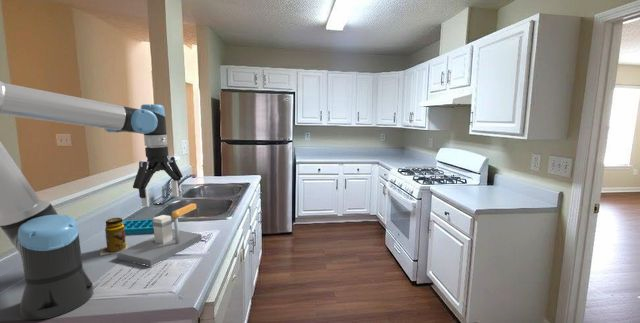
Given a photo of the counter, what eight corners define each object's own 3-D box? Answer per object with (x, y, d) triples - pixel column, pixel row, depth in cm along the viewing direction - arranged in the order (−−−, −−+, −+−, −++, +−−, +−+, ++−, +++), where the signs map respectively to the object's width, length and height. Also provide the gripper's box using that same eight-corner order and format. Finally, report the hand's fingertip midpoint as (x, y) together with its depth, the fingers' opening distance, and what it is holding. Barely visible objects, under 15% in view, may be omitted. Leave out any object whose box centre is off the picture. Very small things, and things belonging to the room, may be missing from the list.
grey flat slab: (151, 267, 101) (150, 260, 100) (118, 259, 106) (117, 252, 106) (201, 240, 123) (201, 234, 123) (172, 234, 129) (171, 229, 128)
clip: (172, 243, 113) (170, 212, 112) (193, 231, 125) (191, 203, 123) (177, 243, 113) (175, 213, 111) (198, 231, 125) (196, 203, 123)
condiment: (127, 250, 113) (124, 220, 112) (100, 256, 109) (96, 225, 107) (127, 243, 119) (124, 215, 118) (101, 248, 115) (97, 219, 113)
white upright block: (163, 249, 114) (161, 219, 112) (154, 247, 116) (152, 218, 114) (173, 244, 118) (171, 216, 117) (164, 242, 120) (162, 214, 118)
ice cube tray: (124, 226, 138) (124, 220, 138) (171, 224, 142) (170, 218, 142) (112, 236, 127) (111, 230, 126) (163, 233, 131) (162, 226, 130)
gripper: (132, 150, 98) (139, 211, 102) (189, 143, 121) (193, 193, 125) (116, 149, 101) (123, 209, 104) (175, 142, 124) (179, 192, 127)
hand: (161, 201), depth 114 cm, fingers open, 13 cm apart
